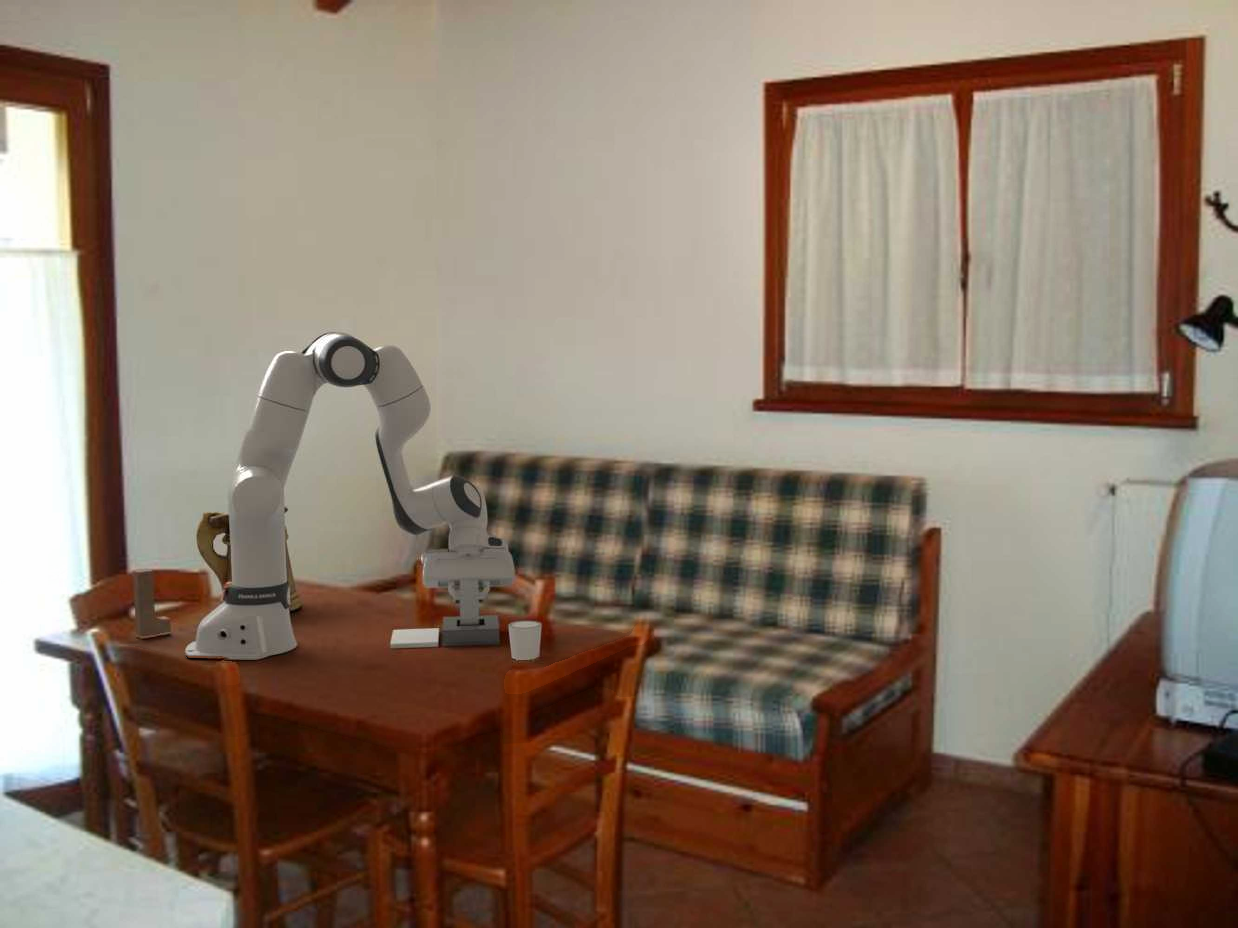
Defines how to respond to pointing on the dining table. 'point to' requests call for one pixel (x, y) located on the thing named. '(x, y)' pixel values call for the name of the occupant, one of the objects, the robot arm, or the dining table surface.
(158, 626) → the wooden block
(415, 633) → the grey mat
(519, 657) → the white cup
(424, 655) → the dining table surface
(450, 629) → the metal socket
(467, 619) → the steel peg
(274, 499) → the robot arm
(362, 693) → the dining table surface
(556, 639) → the dining table surface
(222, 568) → the tankard
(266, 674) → the dining table surface
